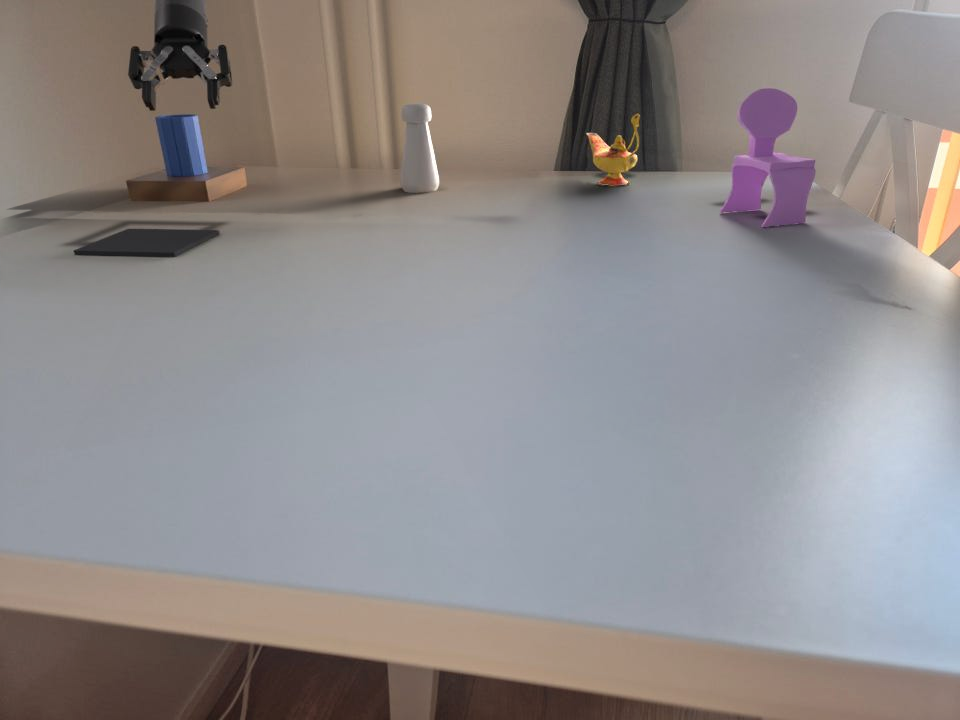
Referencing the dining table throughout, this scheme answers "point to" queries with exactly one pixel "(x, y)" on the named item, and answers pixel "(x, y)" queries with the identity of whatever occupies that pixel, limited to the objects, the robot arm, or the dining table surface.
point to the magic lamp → (614, 156)
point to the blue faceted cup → (181, 145)
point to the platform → (187, 185)
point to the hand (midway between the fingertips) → (181, 106)
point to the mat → (147, 242)
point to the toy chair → (770, 161)
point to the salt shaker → (418, 151)
